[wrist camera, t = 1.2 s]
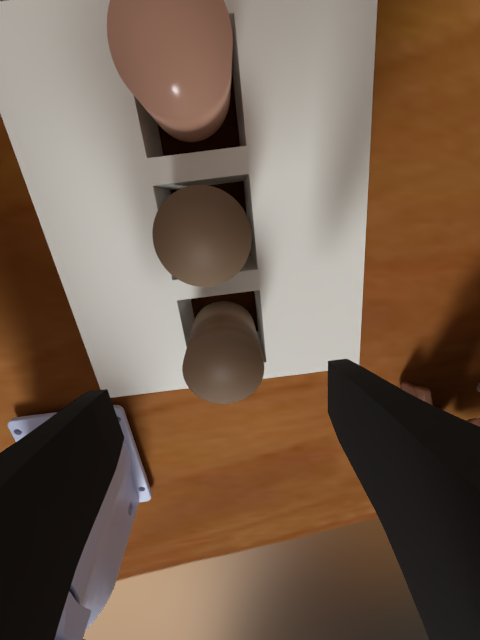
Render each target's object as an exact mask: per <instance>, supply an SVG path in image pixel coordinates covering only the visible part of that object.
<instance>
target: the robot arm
mask: <svg viewBox="0 0 480 640" xmlns="http://www.w3.org/2000/svg"><path fill="white" fill-rule="evenodd" d="M328 413H329V416H330V419H331V421H332V424H333V427H334V430H335V432H336V435H337V437H338V440H339V442H340V444H341V446H342V448H343V450H344V452H345V454H346V455H347V457H348V459H349V461H350V463H351V465H352V467H353V469H354V471H355V473H356V475H357V477H358V478H359V480H360V482H361V484H362V486H363V488H364V490H365V492H366V494H367V496H368V497H369V499H370V501H371V503H372V505H373V507H374V509H375V511H376V513H377V515H378V517H379V519H380V521H381V523H382V525H383V527H384V530H385V532H386V534H387V537H388V539H389V541H390V544H391V546H392V549H393V551H394V553H395V556H396V558H397V560H398V562H399V565H400V567H401V570H402V572H403V575H404V577H405V580H406V582H407V584H408V587H409V590H410V592H411V595H412V597H413V600H414V602H415V605H416V607H417V610H418V612H419V614H420V617H421V619H422V622H423V624H424V627H425V630H426V632H427V635H428V637H429V640H480V427H479V426H477V425H475V424H472V423H470V422H468V421H465V420H463V419H461V418H458V417H456V416H454V415H452V414H450V413H447V412H445V411H443V410H441V409H439V408H437V407H435V406H433V405H431V404H429V403H427V402H425V401H423V400H421V399H419V398H417V397H415V396H413V395H411V394H409V393H408V392H406V391H404V390H402V389H400V388H398V387H397V386H395V385H393V384H391V383H389V382H388V381H386V380H384V379H382V378H381V377H379V376H377V375H375V374H374V373H372V372H370V371H368V370H367V369H365V368H363V367H361V366H360V365H358V364H356V363H354V362H352V361H351V360H349V359H339V360H332V361H328ZM117 417H120V418H121V419H118V418H117ZM8 428H9V429H10V431H11V433H12V435H13V437H14V439H15V441H16V443H14V444H13V445H11V446H10V447H8V448H7V449H5V450H4V451H3V452H1V453H0V640H85V639H83V636H84V633H85V630H86V629H87V628H88V627H89V626H90V625H91V624H92V623H93V621H94V620H95V619H96V618H97V616H98V615H99V614H100V612H101V611H102V609H103V608H104V606H105V604H106V603H107V601H108V599H109V597H110V595H111V593H112V591H113V589H114V586H115V583H116V580H117V576H118V573H119V570H120V566H121V563H122V559H123V556H124V552H125V549H126V545H127V542H128V538H129V535H130V532H131V528H132V525H133V521H134V518H135V514H136V511H137V507H138V504H139V502H146V501H149V500H150V499H151V497H152V492H151V489H150V486H149V483H148V480H147V477H146V474H145V471H144V468H143V465H142V462H141V459H140V456H139V453H138V450H137V447H136V444H135V441H134V438H133V435H132V432H131V429H130V426H129V423H128V420H127V417H126V414H125V411H124V409H123V407H121V406H119V405H113V404H112V401H111V398H110V395H109V393H108V390H107V389H105V390H97V391H89V392H87V393H85V394H84V395H82V396H80V397H79V398H77V399H76V400H74V401H73V402H72V403H70V404H69V405H67V406H66V407H64V408H63V409H62V410H60V411H59V412H54V413H46V414H38V415H30V416H22V417H15V418H12V419H11V420H10V421H9V422H8Z"/></svg>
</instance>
